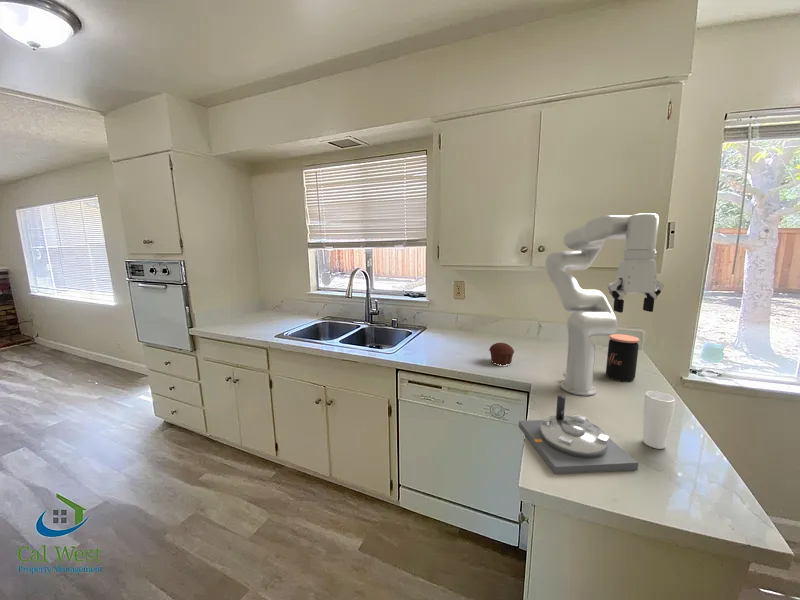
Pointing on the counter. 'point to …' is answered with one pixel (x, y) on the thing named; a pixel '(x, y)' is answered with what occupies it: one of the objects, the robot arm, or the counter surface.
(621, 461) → the gray square base plate
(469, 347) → the counter surface
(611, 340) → the coffee jar
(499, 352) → the muffin
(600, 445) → the round metal lid
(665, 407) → the drinking glass
